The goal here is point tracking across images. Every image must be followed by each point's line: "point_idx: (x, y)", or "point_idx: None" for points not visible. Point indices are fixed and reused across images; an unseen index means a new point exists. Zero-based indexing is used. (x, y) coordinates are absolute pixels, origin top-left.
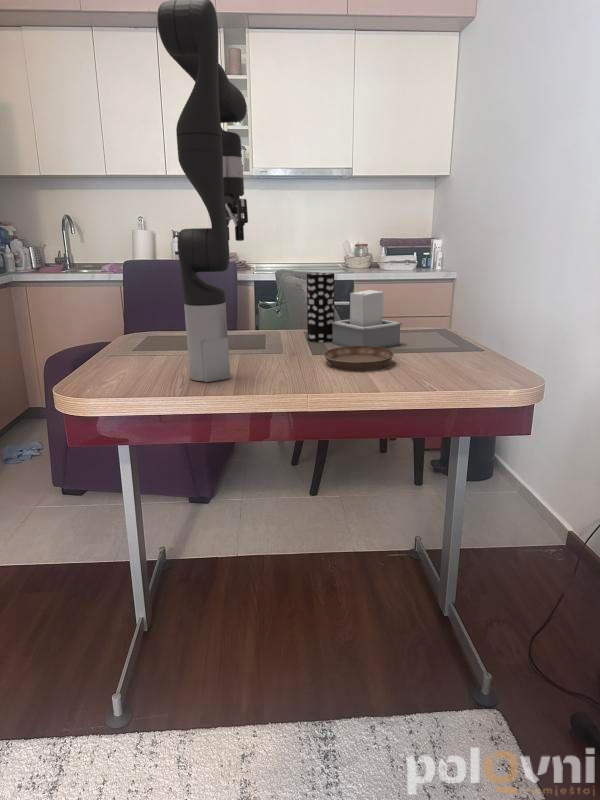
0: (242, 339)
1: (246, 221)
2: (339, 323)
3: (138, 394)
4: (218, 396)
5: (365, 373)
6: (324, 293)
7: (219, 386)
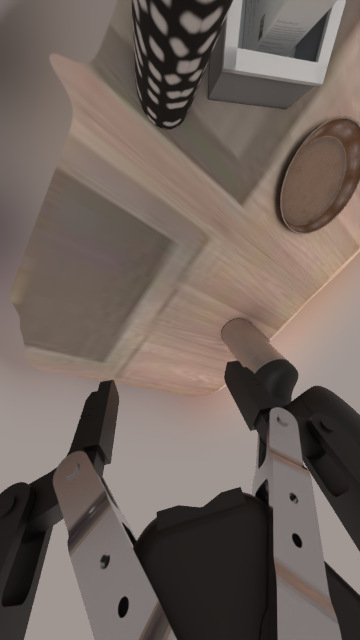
0: (86, 234)
1: (328, 423)
2: (252, 71)
3: None
4: (272, 337)
5: None
6: None
7: None
